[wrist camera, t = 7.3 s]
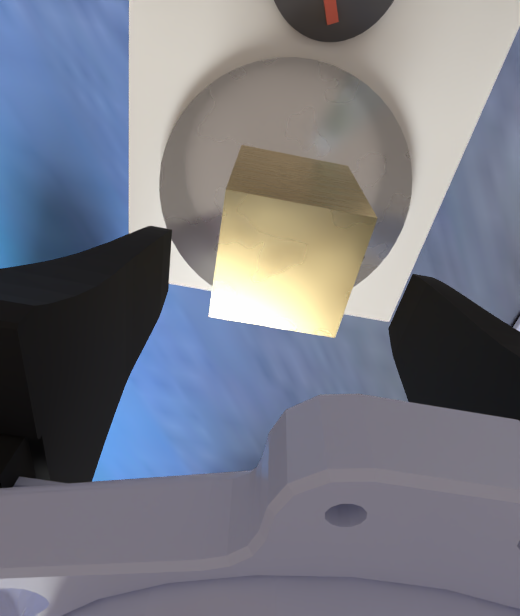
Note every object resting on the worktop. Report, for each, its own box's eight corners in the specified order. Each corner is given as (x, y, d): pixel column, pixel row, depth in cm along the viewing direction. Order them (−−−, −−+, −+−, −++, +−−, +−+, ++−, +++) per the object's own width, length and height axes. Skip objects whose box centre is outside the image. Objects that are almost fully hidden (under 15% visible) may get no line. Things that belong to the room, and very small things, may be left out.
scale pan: (452, 89, 16) (457, 91, 15) (362, 317, 22) (364, 323, 21) (169, 28, 15) (165, 27, 14) (157, 281, 21) (154, 287, 20)
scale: (546, -98, 14) (592, -122, 12) (381, 302, 23) (391, 327, 21) (148, -199, 13) (123, -244, 11) (139, 259, 23) (125, 281, 20)
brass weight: (348, 165, 17) (377, 218, 12) (320, 261, 19) (334, 337, 14) (241, 144, 17) (225, 189, 12) (227, 244, 19) (208, 316, 14)
